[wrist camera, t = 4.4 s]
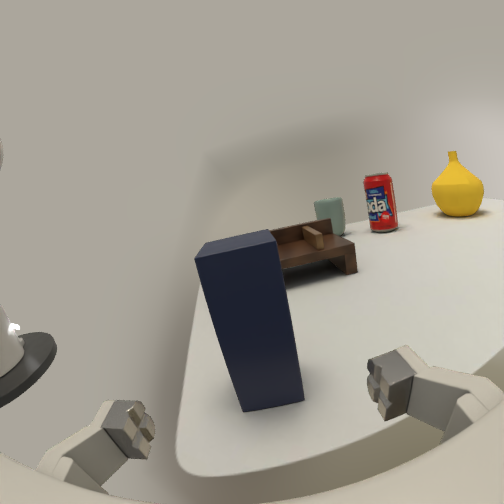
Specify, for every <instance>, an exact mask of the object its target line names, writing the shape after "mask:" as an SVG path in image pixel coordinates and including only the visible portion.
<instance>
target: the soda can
mask: <svg viewBox="0 0 504 504" xmlns="http://www.w3.org/2000/svg"><path fill="white" fill-rule="evenodd" d="M363 183H364V189H365V194H366V201H367V207H368V214H369V221H370V228H371V229H372V230H373V231H375V232H389V231H393V230H394V229H395V228H397V227H398V219H397V211H396V203H395V196H394V190H393V183H392V179H391V177H390V176H389V175H388V173H377V174H372V175H366V176H365V179H364V182H363Z"/></svg>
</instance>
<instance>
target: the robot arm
mask: <svg viewBox="0 0 504 504" xmlns="http://www.w3.org/2000/svg"><path fill="white" fill-rule="evenodd" d="M2 161H3V146H2V142H1V139H0V169H1V165H2ZM14 328H15V329H20V328H19V325H16V324H11V323H10V321H9V319H8V316H7V315H6V312H5V310H4V308H3V307H2V306H1V305H0V377H2V376H3V375H5V374H6V373H7V372H9V371H10V370H11V369H12V368H13V367H14V366H15V365H16V364H17V363H18V362H19V361H20V360H21V358H22V357H23V355H24V349H23V346H24V344H25V342H24V340H23V338H18V336H17V334H16V332H15V330H14ZM367 369H368V371H369V372H370V374H369V376H368V377H367V387H368V392H369V394H370V397H371V399H372V400H373V401H374V402H376V403H378V411H379V412H380V414H381V416H382V418H383V419H384V421H388V420H390V419H393V418H395V417H398V416H400V415H402V414H405V413H407V414H408V415H410V416H412V417H414V418H416V419H418V420H420V421H423V422H425V423H427V424H429V425H431V426H433V427H436V428H438V429H440V430H442V431H445V432H444V435H443V437H442V439H441V441H440V444H439V446H437V447H435V448H433V449H432V450H430V451H428V452H426V453H424V454H422V455H420V456H418V457H417V458H415V459H412V460H410V461H408V462H406V463H404V464H402V465H400V466H397V467H395V468H393V469H391V470H388V471H386V472H383V473H381V474H378V475H376V476H373V477H371V478H368V479H365V480H362V481H359V482H356V483H353V484H350V485H347V486H344V487H340V488H337V489H333V490H330V491H326V492H322V493H318V494H314V495H309V496H305V497H300V498H295V499H289V500H284V501H277V502H269V503H261V504H504V392H503V391H502V390H501V389H500V388H499V387H497V386H496V385H495V384H494V383H493V382H492V381H491V380H490V379H489V378H487V377H482V376H476V375H471V374H467V373H462V372H457V371H453V370H448V369H444V368H439V367H435V366H433V367H431V368H430V367H429V366H428V365H427V364H426V363H425V362H424V361H423V360H422V359H421V358H420V357H419V356H418V355H417V354H416V353H415V352H414V351H413V350H412V349H411V348H410V347H409V346H408V345H404V346H402V347H399V348H397V349H395V350H393V351H390V352H388V353H385V354H382V355H380V356H377V357H374V358H372V359H369V360H368V363H367ZM144 411H145V407H144V405H143V404H142V402H140V401H125V400H117V401H116V400H106V401H104V402H103V404H102V405H101V407H100V409H99V411H98V412H97V414H96V416H95V418H94V419H93V421H92V423H91V424H90V426H86V427H84V428H83V429H81V430H80V431H78V432H76V433H75V434H73V435H72V436H70V437H68V438H67V439H65V440H63V441H62V442H60V443H58V444H57V445H55V446H53V447H52V448H50V449H48V450H47V451H46V453H45V454H44V456H43V458H42V459H41V461H40V463H39V464H38V466H37V468H36V470H34V469H32V468H30V467H27V466H26V465H23V464H21V463H19V462H17V461H15V460H14V459H12V458H10V457H8V456H6V455H4V454H2V453H1V452H0V504H159V503H151V502H144V501H138V500H132V499H126V498H121V497H116V496H112V495H109V494H108V492H106V491H105V490H104V489H103V488H102V487H101V485H102V484H104V483H105V481H107V480H108V479H109V478H110V477H111V476H112V475H113V474H114V473H115V472H116V471H117V470H118V469H119V468H120V467H121V466H122V465H123V464H124V463H125V462H126V461H127V460H128V458H131V459H148V455H149V452H150V449H151V446H150V444H149V442H150V441H151V440H152V439H154V436H155V425H154V422H153V420H152V418H151V416H149V415H148V414H146V413H145V412H144Z"/></svg>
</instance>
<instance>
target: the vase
mask: <svg viewBox="0 0 504 504" xmlns="http://www.w3.org/2000/svg"><path fill="white" fill-rule="evenodd" d="M448 156H449V164H448V166H447V167H446V168H445V170H444V171H443V172H442V173H441V175H440V176H439V177H438V178H437V179H436V180H435V181H434V182H433V184H432V195H433V197H434V200H435V202H436V204H437V206H438V207H439V208H440V209H441V211H443V212H444V213H445V214H446V215H449V216H455V217H463V216H470V215H473V214H474V213H475V212H476V211H477V210H478V208H479V207H480V205H481V203H482V199H483V194H484V189H483V184H482V182H481V180H479V179H478V178H477V177H475V176H474V175H473V174H472V173H470V172H469V171H468V170H467V169H466V168H465V167H463V166H462V165H461V164H460V163H459V161H458V158H457V153H456V151H451V152H448Z"/></svg>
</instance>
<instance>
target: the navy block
mask: <svg viewBox="0 0 504 504" xmlns="http://www.w3.org/2000/svg"><path fill="white" fill-rule="evenodd" d="M195 263H196V267H197V270H198V274H199V278H200V281H201V285H202V288H203V292H204V295H205V299H206V302H207V305H208V309H209V312H210V315H211V319H212V322H213V325H214V328H215V332H216V335H217V338H218V341H219V344H220V347H221V350H222V353H223V356H224V359H225V362H226V365H227V368H228V371H229V374H230V377H231V380H232V383H233V386H234V388H235V391H236V394H237V397H238V400H239V402H240V405H241V408H242V410H243V412H247V411H254V410H260V409H265V408H271V407H276V406H281V405H285V404H290V403H294V402H299V401H303V400H305V398H304V391H303V385H302V379H301V373H300V367H299V361H298V355H297V349H296V343H295V337H294V332H293V326H292V320H291V315H290V309H289V304H288V299H287V293H286V288H285V283H284V277H283V272H282V267H281V262H280V257H279V252H278V247H277V242H276V240H275V238H274V237H273V236H272V234H271V233H270V231H269V230H268V229H266V230H261V231H257V232H252V233H247V234H243V235H239V236H234V237H230V238H225V239H221V240H216V241H212V242H208V243H205V244H204V246H203V247H202V248H201V250H200V251H199V253H198V254H197V256H196V257H195Z"/></svg>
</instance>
